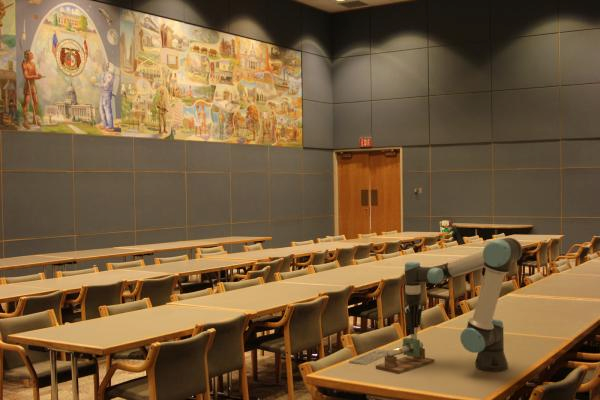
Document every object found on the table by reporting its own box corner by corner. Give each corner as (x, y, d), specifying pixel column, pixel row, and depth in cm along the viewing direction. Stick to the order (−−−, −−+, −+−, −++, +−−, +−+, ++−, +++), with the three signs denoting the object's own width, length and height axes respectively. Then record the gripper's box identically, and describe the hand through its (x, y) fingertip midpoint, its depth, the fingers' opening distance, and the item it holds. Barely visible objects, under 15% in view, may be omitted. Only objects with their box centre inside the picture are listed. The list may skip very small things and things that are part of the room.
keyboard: (366, 366, 340) (366, 362, 340) (348, 364, 346) (348, 360, 346) (394, 354, 364) (394, 350, 364) (377, 351, 370) (376, 348, 370)
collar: (407, 353, 345) (406, 337, 345) (420, 356, 339) (419, 339, 339) (403, 354, 343) (403, 338, 343) (416, 357, 337) (415, 340, 337)
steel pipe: (417, 347, 347) (417, 340, 347) (422, 348, 345) (422, 341, 345) (386, 356, 331) (386, 349, 331) (392, 357, 328) (391, 350, 328)
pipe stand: (411, 357, 352) (411, 345, 352) (434, 362, 342) (433, 349, 342) (375, 368, 333) (375, 355, 333) (398, 373, 323) (398, 360, 323)
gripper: (415, 290, 349) (416, 337, 350) (398, 294, 341) (399, 341, 341) (427, 292, 344) (428, 339, 344) (410, 295, 335) (411, 343, 336)
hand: (413, 340), depth 343 cm, fingers closed
